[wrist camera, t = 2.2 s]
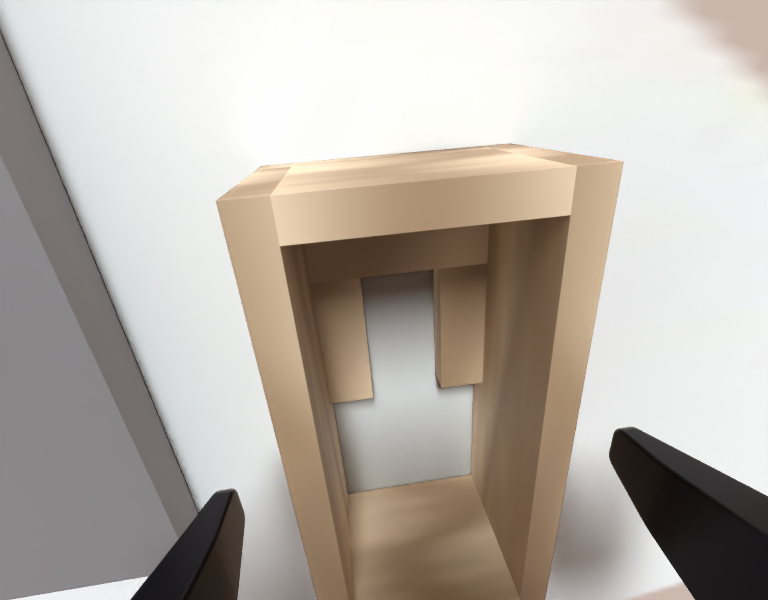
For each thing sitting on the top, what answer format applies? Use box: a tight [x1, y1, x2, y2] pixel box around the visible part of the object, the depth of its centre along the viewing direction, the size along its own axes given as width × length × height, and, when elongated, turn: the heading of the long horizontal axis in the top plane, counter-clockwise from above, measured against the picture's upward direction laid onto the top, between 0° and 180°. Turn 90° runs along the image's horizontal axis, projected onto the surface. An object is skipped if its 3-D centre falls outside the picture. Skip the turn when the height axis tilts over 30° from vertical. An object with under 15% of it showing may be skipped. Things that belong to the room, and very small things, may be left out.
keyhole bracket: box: [216, 144, 623, 600], centre depth 11 cm, size 6×13×4 cm, turn 4°
